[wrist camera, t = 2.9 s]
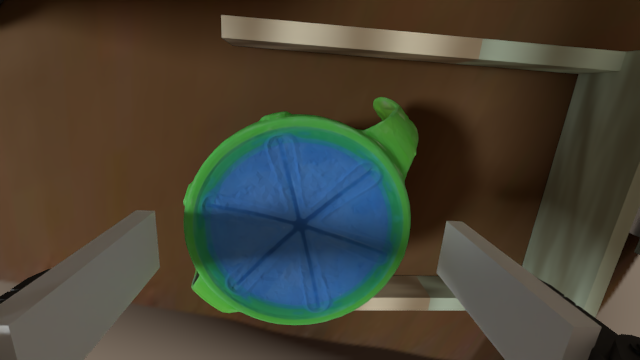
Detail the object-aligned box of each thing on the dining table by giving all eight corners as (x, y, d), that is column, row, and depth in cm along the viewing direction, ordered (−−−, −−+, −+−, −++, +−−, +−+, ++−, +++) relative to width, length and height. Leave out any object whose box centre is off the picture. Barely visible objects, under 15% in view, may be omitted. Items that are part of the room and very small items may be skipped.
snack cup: (344, 54, 21) (386, 21, 11) (415, 170, 24) (497, 224, 14) (175, 178, 22) (83, 243, 13) (261, 273, 25) (239, 385, 16)
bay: (236, 285, 25) (218, 341, 20) (231, 26, 20) (205, -2, 14) (527, 288, 28) (587, 338, 22) (598, 58, 22) (702, 46, 17)
